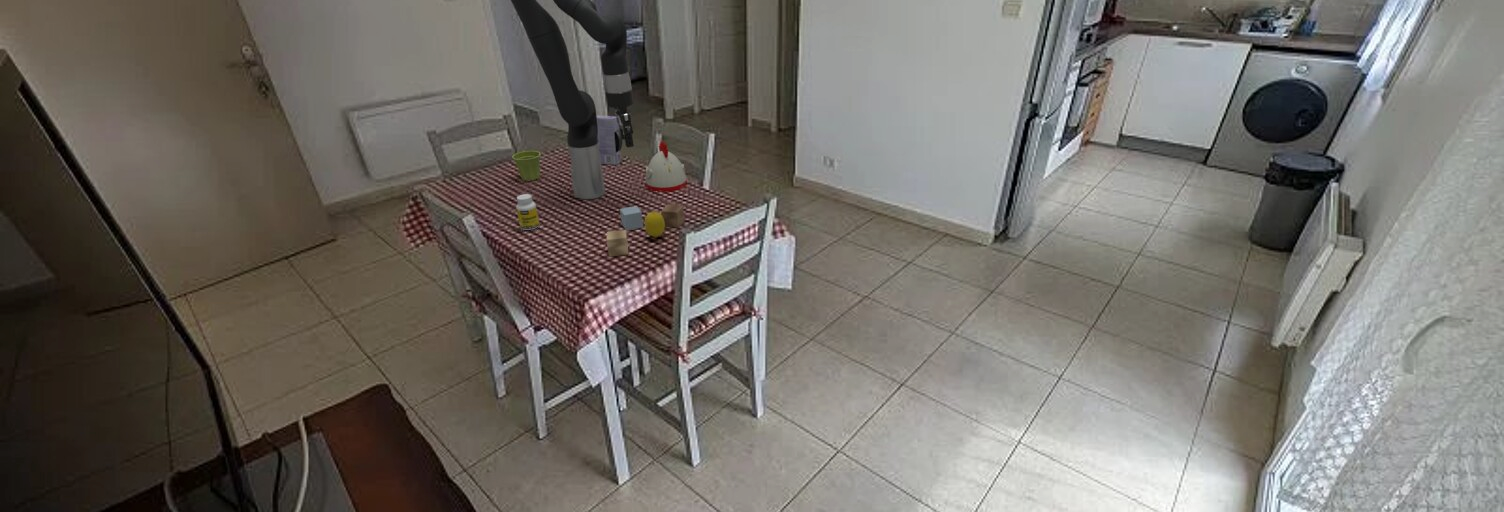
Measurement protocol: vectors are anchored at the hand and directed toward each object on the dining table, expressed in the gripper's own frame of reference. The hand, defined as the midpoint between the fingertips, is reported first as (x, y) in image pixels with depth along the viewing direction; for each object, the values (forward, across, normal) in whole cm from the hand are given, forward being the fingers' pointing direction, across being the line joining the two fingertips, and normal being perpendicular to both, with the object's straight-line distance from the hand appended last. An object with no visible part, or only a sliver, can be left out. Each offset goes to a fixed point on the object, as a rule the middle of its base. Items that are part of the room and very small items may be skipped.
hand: (627, 142), depth 181 cm
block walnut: (+20, +20, +7) cm, 29 cm away
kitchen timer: (+21, -12, +12) cm, 27 cm away
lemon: (+20, +27, 0) cm, 34 cm away
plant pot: (+18, -36, -31) cm, 51 cm away
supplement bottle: (+18, +7, -33) cm, 38 cm away
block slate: (+20, +17, -5) cm, 26 cm away
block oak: (+20, +32, -11) cm, 39 cm away
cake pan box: (+20, -45, -6) cm, 49 cm away
